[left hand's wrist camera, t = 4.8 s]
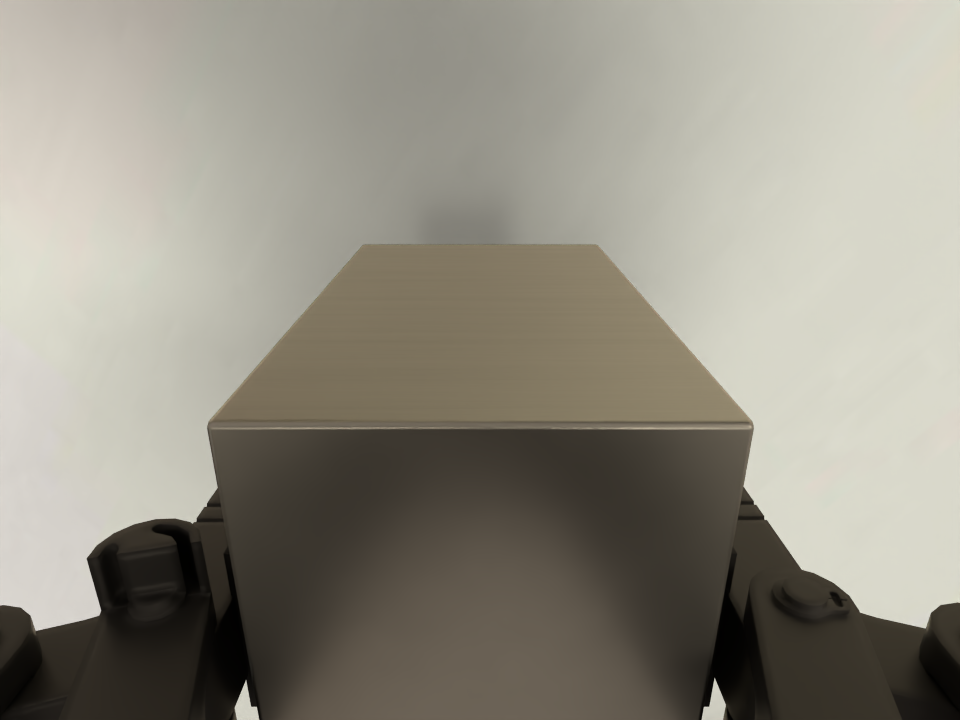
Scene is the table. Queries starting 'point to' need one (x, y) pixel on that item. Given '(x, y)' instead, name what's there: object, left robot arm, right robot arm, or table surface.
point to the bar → (480, 495)
